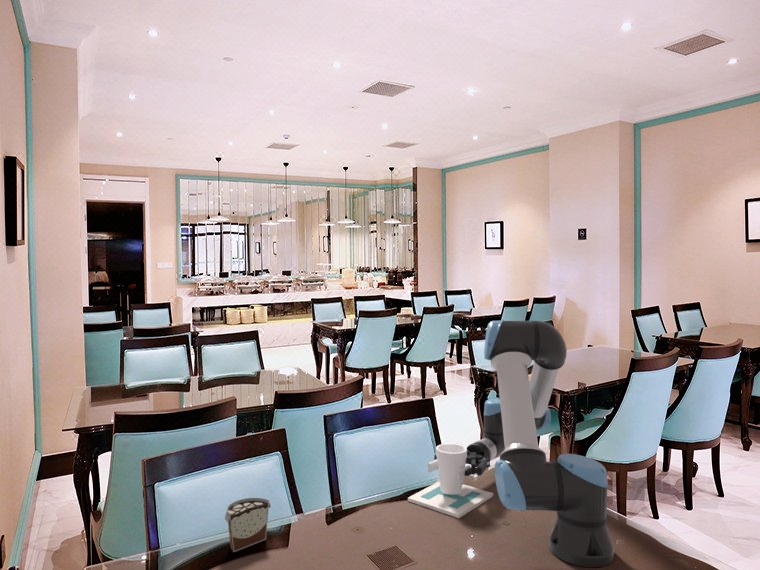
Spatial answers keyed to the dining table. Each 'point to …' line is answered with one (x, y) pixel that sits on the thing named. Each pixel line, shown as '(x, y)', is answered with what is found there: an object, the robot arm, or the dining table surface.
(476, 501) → the letter board
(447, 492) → the foam cup
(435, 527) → the dining table surface
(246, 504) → the food container
